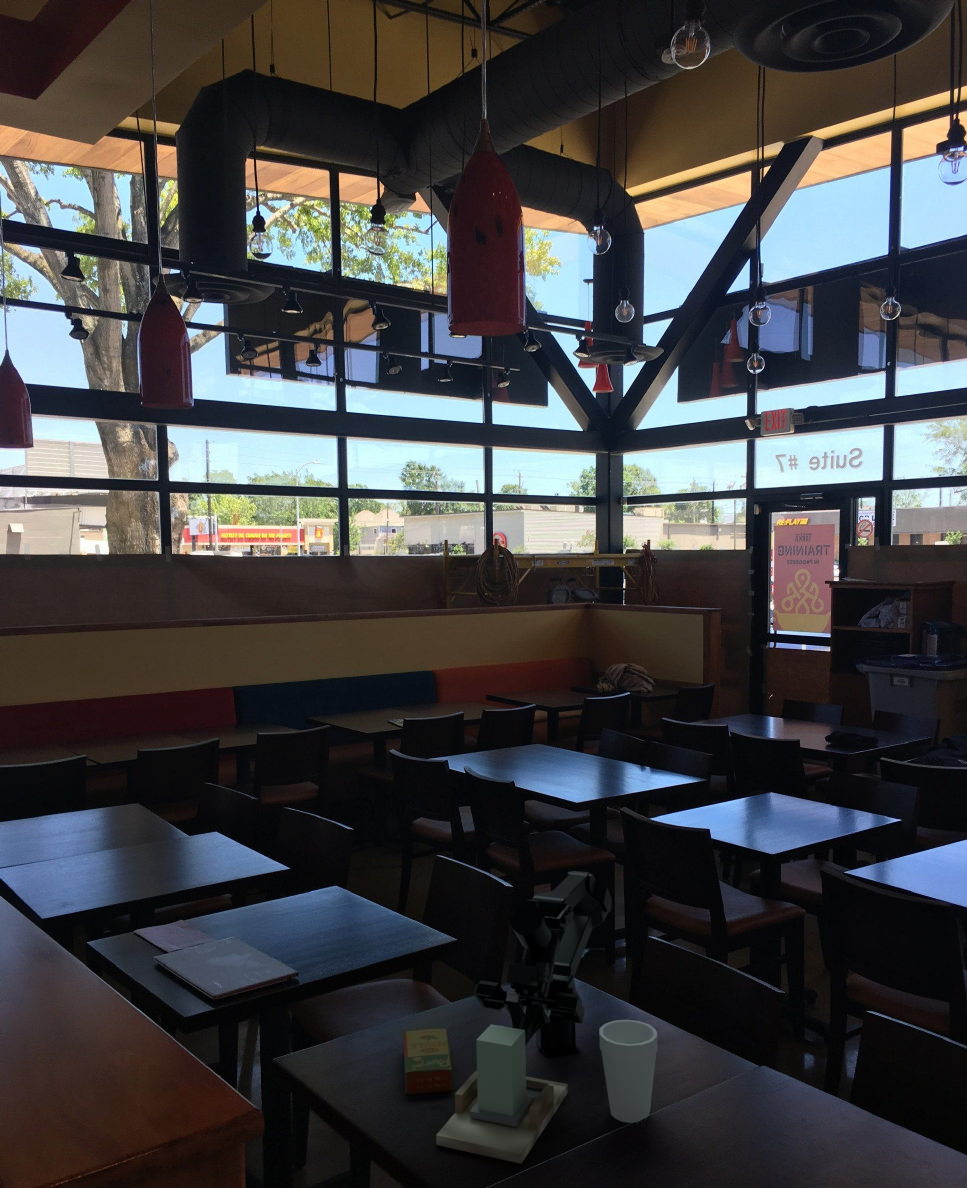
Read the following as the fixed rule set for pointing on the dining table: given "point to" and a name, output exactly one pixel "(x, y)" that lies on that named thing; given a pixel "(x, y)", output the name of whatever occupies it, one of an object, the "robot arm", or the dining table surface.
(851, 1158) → the dining table surface
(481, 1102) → the tall sage green block
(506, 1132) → the track
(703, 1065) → the dining table surface
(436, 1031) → the carton
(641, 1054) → the foam cup
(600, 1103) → the dining table surface
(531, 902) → the robot arm
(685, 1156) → the dining table surface
